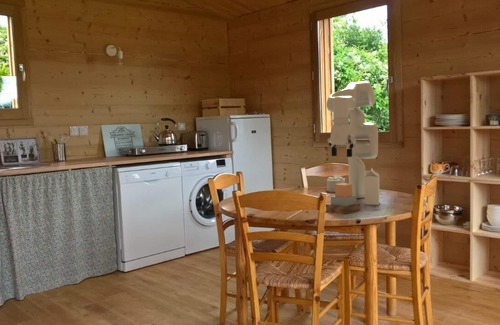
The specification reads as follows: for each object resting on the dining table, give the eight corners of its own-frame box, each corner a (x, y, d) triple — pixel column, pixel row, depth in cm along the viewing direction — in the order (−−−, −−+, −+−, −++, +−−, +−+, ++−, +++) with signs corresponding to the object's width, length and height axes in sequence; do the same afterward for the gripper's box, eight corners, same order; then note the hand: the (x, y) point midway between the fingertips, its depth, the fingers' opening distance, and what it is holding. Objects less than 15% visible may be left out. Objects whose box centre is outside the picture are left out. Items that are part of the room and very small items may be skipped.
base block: (326, 212, 241) (325, 204, 241) (341, 208, 249) (341, 200, 249) (344, 215, 232) (344, 207, 232) (360, 211, 240) (360, 203, 239)
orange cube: (335, 196, 240) (335, 184, 240) (342, 194, 244) (342, 182, 243) (344, 197, 236) (344, 185, 235) (352, 195, 240) (352, 183, 239)
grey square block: (330, 204, 240) (330, 196, 240) (341, 201, 247) (341, 193, 246) (345, 206, 234) (345, 198, 234) (356, 203, 240) (356, 195, 240)
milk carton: (379, 202, 258) (379, 167, 256) (378, 205, 251) (378, 169, 249) (366, 202, 260) (365, 167, 258) (364, 204, 254) (364, 169, 252)
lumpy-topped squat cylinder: (347, 189, 307) (346, 175, 306) (339, 192, 296) (339, 178, 295) (331, 188, 312) (331, 175, 311) (323, 191, 301) (323, 178, 300)
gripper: (322, 122, 241) (323, 156, 242) (350, 121, 227) (350, 157, 229) (332, 121, 245) (333, 155, 247) (360, 121, 232) (360, 156, 234)
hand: (341, 156), depth 238 cm, fingers open, 9 cm apart
